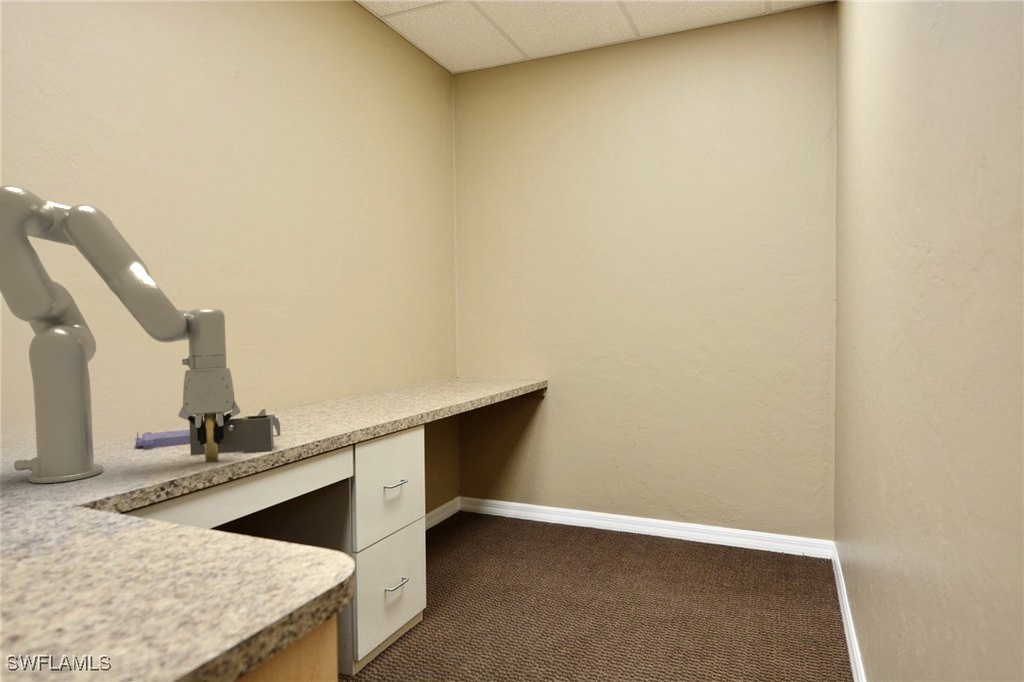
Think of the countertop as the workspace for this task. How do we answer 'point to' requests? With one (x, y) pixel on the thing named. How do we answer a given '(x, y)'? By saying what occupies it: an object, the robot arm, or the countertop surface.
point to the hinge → (241, 435)
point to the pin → (210, 438)
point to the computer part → (163, 439)
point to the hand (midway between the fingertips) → (211, 442)
